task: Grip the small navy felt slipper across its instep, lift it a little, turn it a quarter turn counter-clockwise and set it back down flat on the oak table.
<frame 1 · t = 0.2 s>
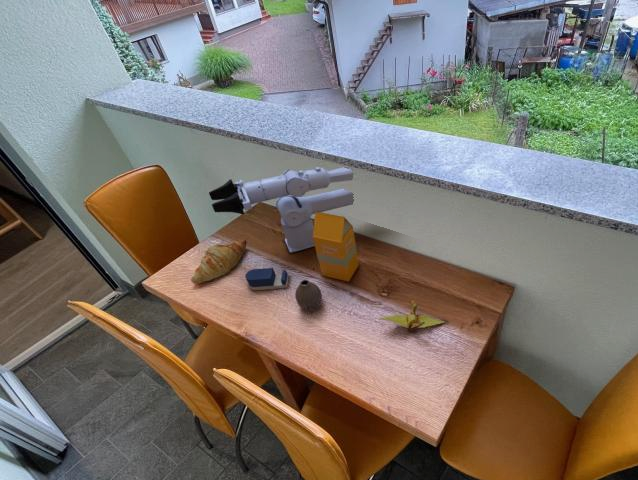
hand: (211, 202, 94), 21 cm above the table, tool horizontal, fingers open, 7 cm apart
origami crane: (412, 325, 91), on the table
croissant: (222, 265, 108), on the table
vase: (311, 305, 96), on the table
slipper: (287, 282, 102), on the table
orange juice: (340, 270, 106), on the table
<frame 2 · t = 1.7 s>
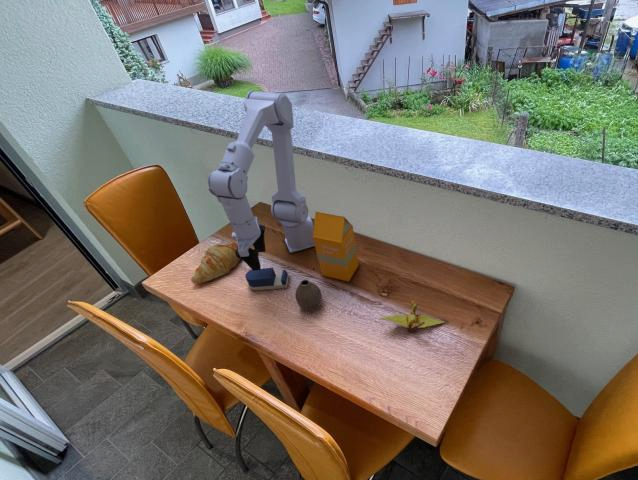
hand: (259, 260, 95), 9 cm above the table, tool pointing down, fingers open, 7 cm apart
nothing on the table moved.
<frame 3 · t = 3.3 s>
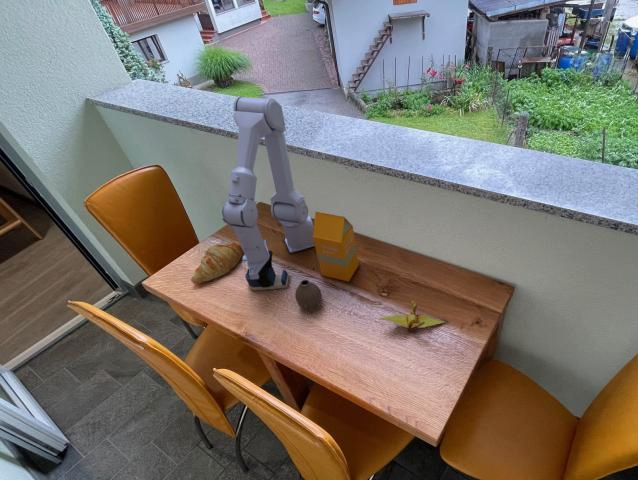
hand: (267, 280, 101), 1 cm above the table, tool pointing down, fingers closed on slipper, 4 cm apart
slipper: (287, 282, 102), on the table, touching gripper
everything else where it was.
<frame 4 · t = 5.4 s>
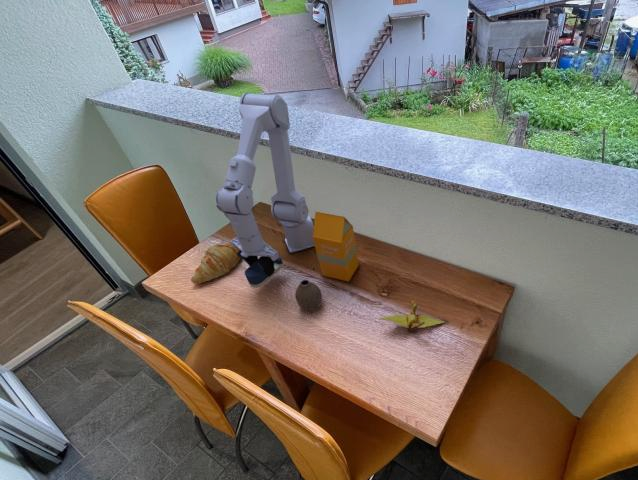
hand: (264, 271, 99), 5 cm above the table, tool pointing down, fingers closed on slipper, 4 cm apart
slipper: (278, 263, 103), point 3 cm above the table, touching gripper
everything else where it was.
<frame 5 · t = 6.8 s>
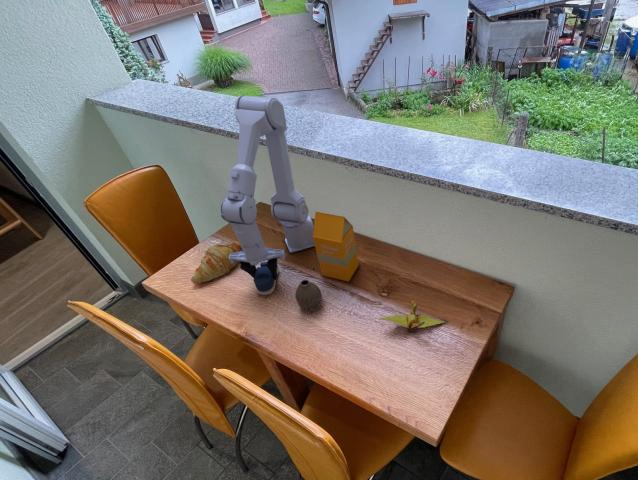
hand: (266, 278, 100), 2 cm above the table, tool pointing down, fingers closed on slipper, 4 cm apart
slipper: (271, 269, 105), point 1 cm above the table, touching gripper
everything else where it was.
when the fingers open (1 cm above the table, at t = 7.5 s): slipper stays where it is, on the table.
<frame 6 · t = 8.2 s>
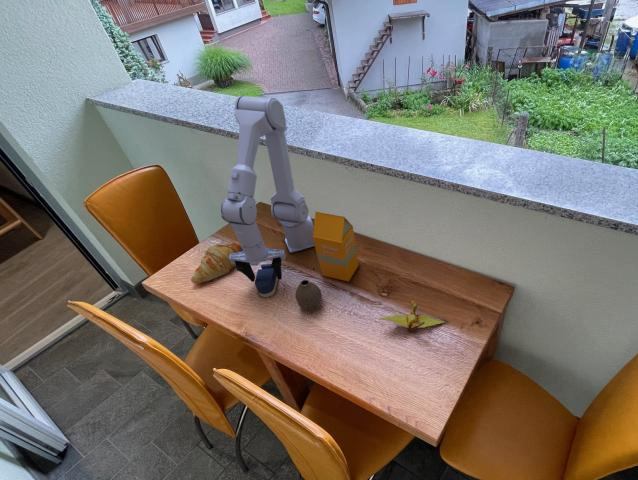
hand: (266, 278, 101), 2 cm above the table, tool pointing down, fingers open, 7 cm apart
slipper: (272, 271, 106), on the table
everything else where it was.
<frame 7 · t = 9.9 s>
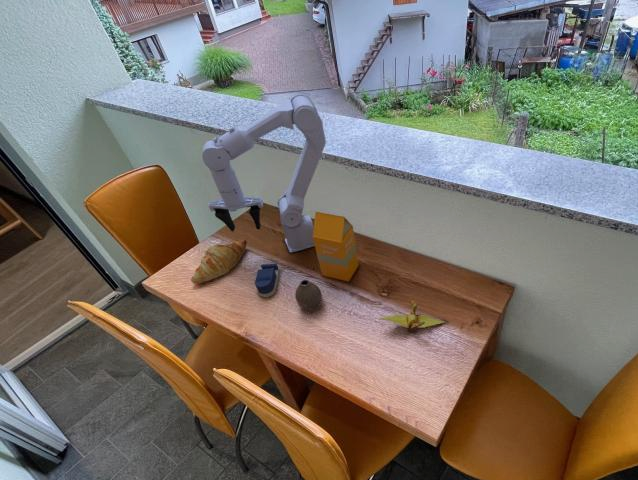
hand: (246, 228, 105), 9 cm above the table, tool pointing down, fingers open, 7 cm apart
nothing on the table moved.
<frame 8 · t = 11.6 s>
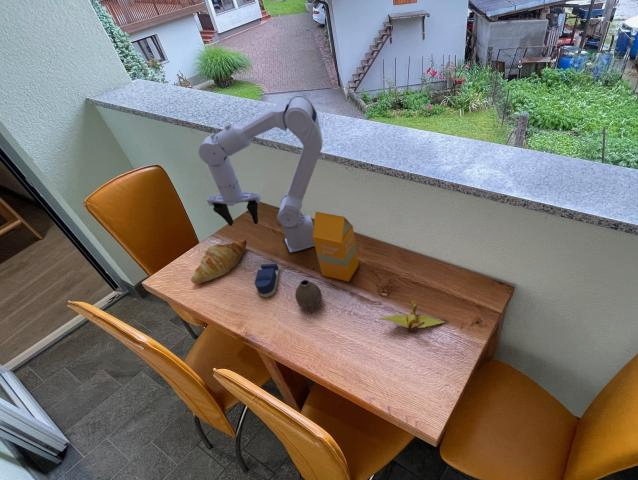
hand: (244, 223, 107), 9 cm above the table, tool pointing down, fingers open, 7 cm apart
nothing on the table moved.
at the end: slipper 0.0 cm from the target spot, on the table; slipper tilted 0°; the gripper is holding nothing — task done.
